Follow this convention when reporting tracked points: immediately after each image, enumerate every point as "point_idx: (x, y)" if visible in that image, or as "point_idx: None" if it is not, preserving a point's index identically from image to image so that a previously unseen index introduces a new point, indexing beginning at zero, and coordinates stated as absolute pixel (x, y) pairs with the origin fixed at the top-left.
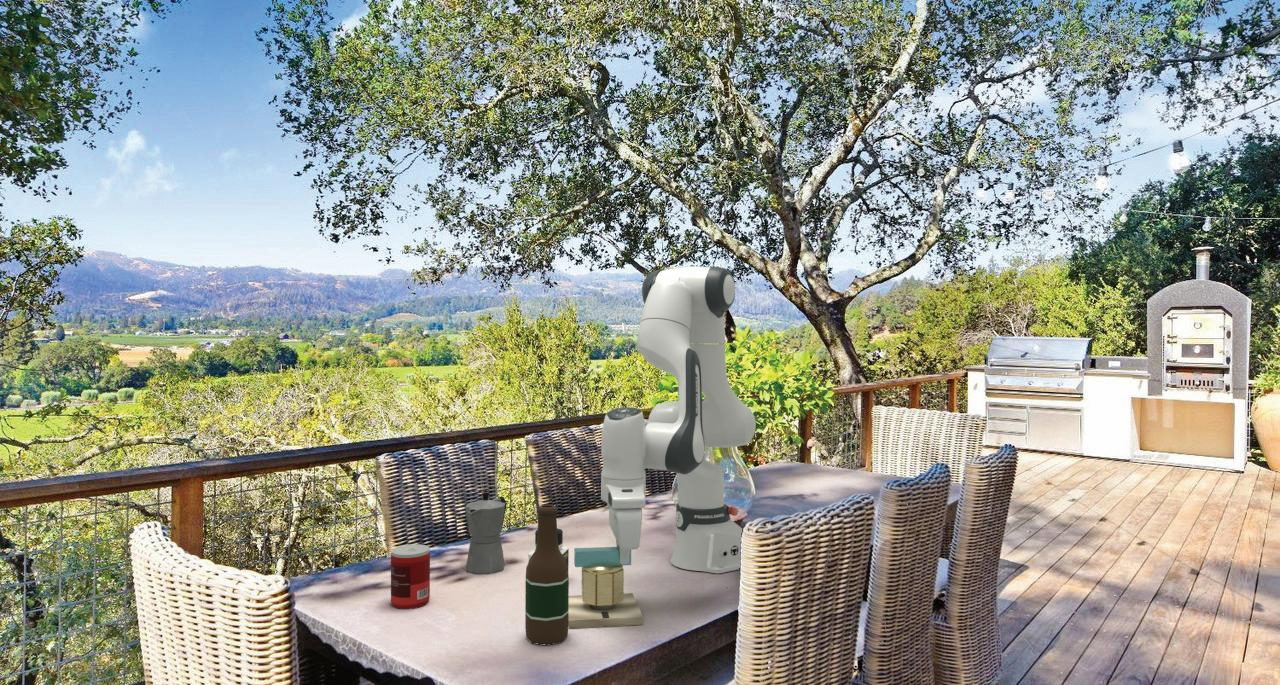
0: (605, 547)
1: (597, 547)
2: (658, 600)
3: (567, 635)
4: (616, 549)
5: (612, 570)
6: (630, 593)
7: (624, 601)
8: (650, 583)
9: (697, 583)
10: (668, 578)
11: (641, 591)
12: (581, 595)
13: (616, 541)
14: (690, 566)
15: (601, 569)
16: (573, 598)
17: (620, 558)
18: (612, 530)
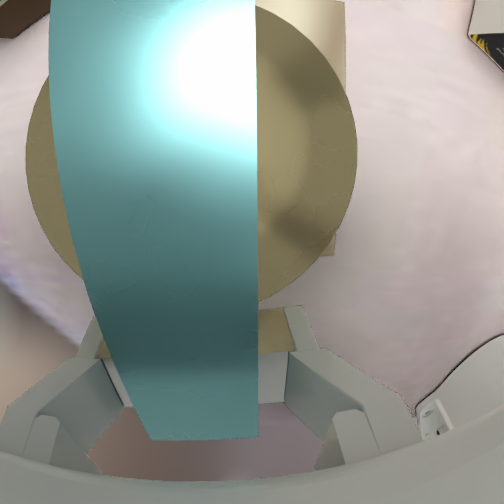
0: (240, 259)
1: (248, 142)
2: (306, 313)
3: (12, 37)
4: (146, 363)
5: (54, 239)
6: (329, 248)
7: None
8: (435, 297)
9: (390, 383)
10: (444, 334)
11: (391, 274)
12: (342, 61)
13: (343, 391)
14: (460, 373)
15: (41, 162)
16: (309, 24)
17: (86, 338)
18: (413, 476)
